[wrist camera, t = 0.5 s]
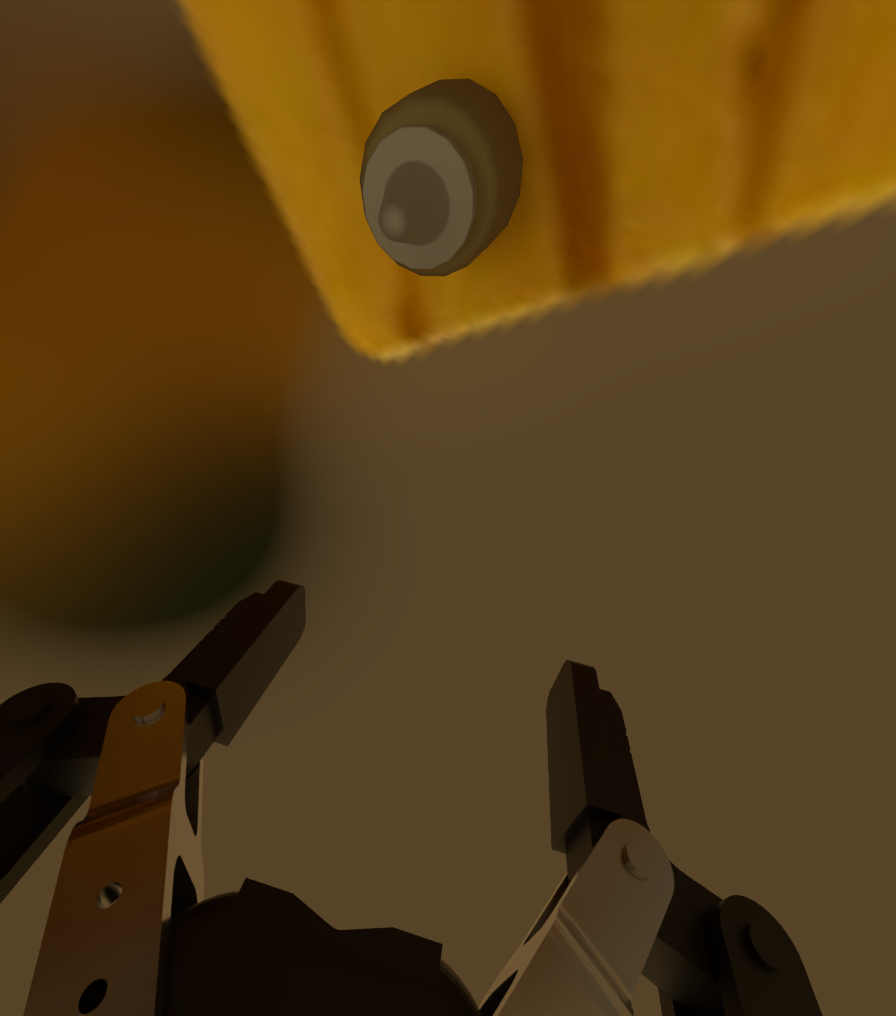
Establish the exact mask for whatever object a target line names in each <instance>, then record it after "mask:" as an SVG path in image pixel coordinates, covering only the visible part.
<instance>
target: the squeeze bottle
mask: <svg viewBox="0 0 896 1016" xmlns="http://www.w3.org/2000/svg"><path fill="white" fill-rule="evenodd" d="M522 163H523V158H522V154H521V149H520V145H519V140H518V136H517V131H516V127H515V123H514V122H513V120H512V119H511V117H510V116H509V114H508V112H507V111H506V109H505V108H504V106H503V105H502V103H501V102H500V100H499V99H498V97H497V96H496V94H494V93H492V92H491V91H489V90H487V89H485V88H484V87H482V86H480V85H479V84H477V83H475V82H474V81H472V80H470V79H450V80H438V81H436V82H434V83H432V84H430V85H427V86H425V87H423V88H421V89H419V90H417V91H415V92H413V93H410V94H409V95H407V96H406V97H404V98H403V99H401V100H400V101H399V102H397V103H396V104H394V105H393V106H391V107H390V108H388V109H387V110H385V111H384V112H383V113H382V115H381V116H380V118H379V120H378V122H377V124H376V125H375V127H374V129H373V131H372V132H371V134H370V136H369V138H368V140H367V141H366V144H365V150H364V156H363V162H362V168H361V174H360V184H361V191H362V198H363V206H364V213H365V216H366V220H367V222H368V224H369V226H370V229H371V231H372V233H373V235H374V237H375V239H376V242H377V243H378V244H379V245H380V246H381V247H382V248H383V250H384V251H385V252H386V253H387V254H388V255H389V256H390V257H391V258H392V259H393V260H394V261H395V262H396V263H397V264H398V265H400V266H402V267H404V268H406V269H408V270H410V271H412V272H414V273H416V274H418V275H420V276H446V275H449V274H451V273H453V272H455V271H457V270H459V269H462V268H464V267H466V266H468V265H469V264H470V263H471V262H472V261H473V260H474V259H475V258H476V257H477V256H478V255H479V254H480V253H481V252H482V251H483V250H484V249H486V248H487V247H488V246H489V245H490V243H491V242H492V241H493V240H494V239H495V238H496V237H497V236H498V234H499V233H500V232H501V231H502V230H503V229H504V228H505V227H506V226H507V224H508V222H509V219H510V217H511V215H512V212H513V210H514V207H515V205H516V203H517V200H518V198H519V195H520V186H521V174H522Z"/></svg>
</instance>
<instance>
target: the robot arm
mask: <svg viewBox="0 0 896 1016" xmlns="http://www.w3.org/2000/svg"><path fill="white" fill-rule="evenodd" d="M305 616H306V615H305V588H304V587H303V586H300V585H297V584H293V583H290V582H286V581H282V580H278V581H276V582H275V583H274V584H273V585H272V586H271V587H270V588H269V590H268V591H267V592H266V593H265V594H261V593H257V592H255V593H254V594H252V595H250V596H248V597H247V598H245V599H243V600H241V601H240V602H238V603H237V604H236V605H235V606H234V607H233V608H232V609H231V610H230V611H229V612H228V613H227V614H226V615H225V618H224V619H222V620H221V621H220V622H219V623H218V624H217V625H216V626H215V627H214V629H213V630H211V631H210V632H209V633H208V634H207V635H206V636H205V637H204V638H203V640H202V641H200V642H199V644H198V645H197V646H196V647H195V648H194V649H193V650H192V651H191V652H190V653H189V654H188V655H187V656H186V657H185V658H184V659H183V660H182V661H181V662H180V663H179V664H178V665H177V666H176V668H175V669H174V670H173V671H172V672H171V673H170V674H169V675H167V676H166V677H165V678H164V679H163V680H162V681H157V682H152V683H149V684H146V685H143V686H141V687H139V688H137V689H135V690H133V691H132V692H130V693H129V694H127V695H126V696H116V697H92V698H78V697H77V695H76V693H75V691H74V690H73V688H72V687H70V686H69V685H67V684H63V683H46V684H41V685H38V686H34V687H31V688H29V689H26V690H24V691H22V692H20V693H18V694H16V695H14V696H12V697H11V698H9V699H7V700H6V701H5V702H3V703H2V704H1V705H0V903H1V902H2V901H3V900H4V898H5V897H6V896H7V895H8V894H9V892H10V891H11V890H12V889H13V888H14V886H15V885H16V884H17V883H18V881H19V880H20V879H21V878H22V877H23V875H24V874H25V873H26V872H27V871H28V869H29V868H30V867H31V866H32V865H33V863H34V862H35V861H36V860H37V858H38V857H39V856H40V855H41V854H42V852H43V851H44V850H45V849H46V848H47V846H48V845H49V844H50V843H51V841H52V840H53V839H54V838H55V837H56V835H57V834H58V833H59V832H60V831H61V829H62V828H63V827H64V826H65V824H66V823H67V822H68V821H69V820H70V818H71V817H72V816H73V815H74V813H75V812H76V811H77V810H78V809H79V807H80V806H81V805H82V804H83V803H84V801H85V800H86V799H87V798H88V796H89V795H92V797H91V801H90V805H89V809H88V812H87V815H86V817H85V818H84V820H83V821H80V822H78V823H77V824H76V825H75V826H74V827H73V829H72V831H71V833H70V835H69V838H68V841H67V844H66V847H65V851H64V855H63V859H62V863H61V867H60V871H59V875H58V879H57V883H56V887H55V891H54V895H53V899H52V903H51V907H50V911H49V915H48V919H47V923H46V927H45V931H44V935H43V939H42V943H41V947H40V951H39V955H38V959H37V963H36V967H35V971H34V975H33V979H32V983H31V987H30V991H29V995H28V999H27V1003H26V1007H25V1011H24V1015H23V1016H634V1015H633V1009H632V1007H631V1000H632V996H633V993H634V990H635V987H636V985H637V982H638V980H639V977H640V975H641V974H642V975H644V976H645V977H646V978H647V979H649V980H650V981H651V982H652V983H654V984H655V985H656V986H657V987H658V990H659V997H660V1003H661V1010H662V1016H822V1013H821V1011H820V1008H819V1006H818V1003H817V1000H816V997H815V995H814V992H813V989H812V987H811V984H810V981H809V978H808V976H807V973H806V971H805V968H804V965H803V963H802V961H801V958H800V956H799V953H798V951H797V950H796V948H795V946H794V944H793V942H792V941H791V939H790V938H789V936H788V935H787V933H786V932H785V930H784V929H783V928H782V926H781V925H780V924H779V923H778V922H777V920H776V919H775V918H774V917H773V916H772V915H771V914H770V913H769V912H768V911H767V910H765V909H764V908H763V907H762V906H761V905H759V904H758V903H756V902H755V901H753V900H751V899H749V898H747V897H744V896H740V895H733V896H729V897H728V898H727V899H724V900H722V899H721V898H719V897H718V896H716V895H715V894H713V893H712V892H710V891H709V890H707V889H706V888H705V887H703V886H702V885H700V884H699V883H697V882H696V881H694V880H693V879H691V878H690V877H688V876H687V875H686V874H684V873H683V872H682V871H680V870H679V869H678V868H676V866H674V865H673V864H672V863H671V862H670V860H669V859H668V857H667V855H666V853H665V851H664V849H663V848H662V846H661V845H660V843H659V842H658V841H657V839H656V838H655V837H654V836H653V835H652V834H651V832H650V830H649V827H648V825H647V821H646V818H645V813H644V809H643V804H642V800H641V795H640V791H639V786H638V782H637V777H636V773H635V769H634V764H633V760H632V755H631V753H630V746H629V742H628V737H627V736H626V728H625V724H624V720H623V715H622V711H621V710H620V708H619V706H618V704H617V703H616V701H615V699H614V698H613V696H612V694H611V692H608V691H605V690H601V689H599V685H598V679H597V674H596V670H595V668H594V667H592V666H588V665H584V664H581V663H577V662H574V661H570V660H566V661H565V663H564V665H563V666H562V668H561V670H560V673H559V674H558V676H557V678H556V680H555V682H554V684H553V686H552V688H551V690H550V693H549V696H548V700H547V708H546V717H547V745H548V769H549V794H550V818H551V819H550V820H551V844H552V850H555V851H559V852H562V853H565V854H566V859H567V873H566V874H565V875H564V877H563V878H562V880H561V882H560V883H559V885H558V887H557V888H556V890H555V891H554V893H553V894H552V896H551V897H550V899H549V901H548V902H547V904H546V905H545V907H544V908H543V910H542V912H541V913H540V915H539V916H538V918H537V920H536V921H535V923H534V924H533V926H532V927H531V929H530V931H529V932H528V934H527V936H526V937H525V938H524V940H523V942H522V943H521V945H520V946H519V948H518V949H517V951H516V952H515V953H514V955H513V956H512V957H511V959H510V960H509V961H508V963H507V964H506V966H505V967H504V968H503V970H502V971H501V973H500V974H499V976H498V977H497V979H496V980H495V982H494V983H493V985H492V986H491V988H490V990H489V991H488V993H487V994H486V996H485V997H484V999H483V1001H482V1002H481V1004H480V1005H479V1007H478V1006H477V1004H476V1003H475V1001H474V999H473V997H472V995H471V994H470V992H469V990H468V989H467V988H466V986H465V985H464V983H463V982H462V981H461V979H460V978H459V976H458V975H457V974H456V973H455V972H454V971H453V970H452V969H451V968H450V966H449V965H447V964H446V963H445V962H444V961H443V960H441V952H442V944H440V943H437V942H435V941H432V940H428V939H426V938H423V937H420V936H417V935H414V934H411V933H408V932H405V931H402V930H399V929H396V928H393V927H390V928H372V929H353V930H337V929H335V928H333V927H332V926H330V925H329V924H328V923H327V922H326V921H324V920H323V919H322V918H321V917H320V916H318V915H317V914H316V913H315V912H314V911H313V910H311V909H310V908H309V907H308V906H307V905H306V904H304V903H303V902H302V901H301V900H300V899H299V898H297V897H296V896H295V895H294V894H293V893H290V892H287V891H284V890H281V889H278V888H275V887H272V886H269V885H266V884H263V883H260V882H257V881H254V880H251V879H248V878H246V879H245V881H244V883H243V885H242V887H241V889H240V891H239V892H229V893H225V894H220V895H217V896H214V897H211V898H209V899H206V900H203V895H204V870H203V857H202V848H201V822H202V787H203V786H202V785H203V756H204V755H205V753H206V752H207V750H208V749H209V748H210V746H211V745H212V743H213V742H216V743H219V744H223V745H225V746H228V745H229V743H230V742H231V740H232V739H233V738H234V736H235V734H236V733H237V732H238V730H239V729H240V727H241V726H242V724H243V723H244V721H245V720H246V718H247V717H248V715H249V714H250V712H251V711H252V709H253V708H254V706H255V705H256V703H257V702H258V700H259V699H260V698H261V696H262V694H263V693H264V691H265V690H266V689H267V687H268V686H269V684H270V683H271V681H272V680H273V678H274V677H275V675H276V674H277V672H278V671H279V669H280V668H281V666H282V665H283V663H284V662H285V660H286V659H287V657H288V656H289V655H290V653H291V652H292V650H293V648H294V647H295V646H296V644H297V642H298V641H299V639H300V638H301V635H302V633H303V630H304V627H305V622H306V618H305Z"/></svg>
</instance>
